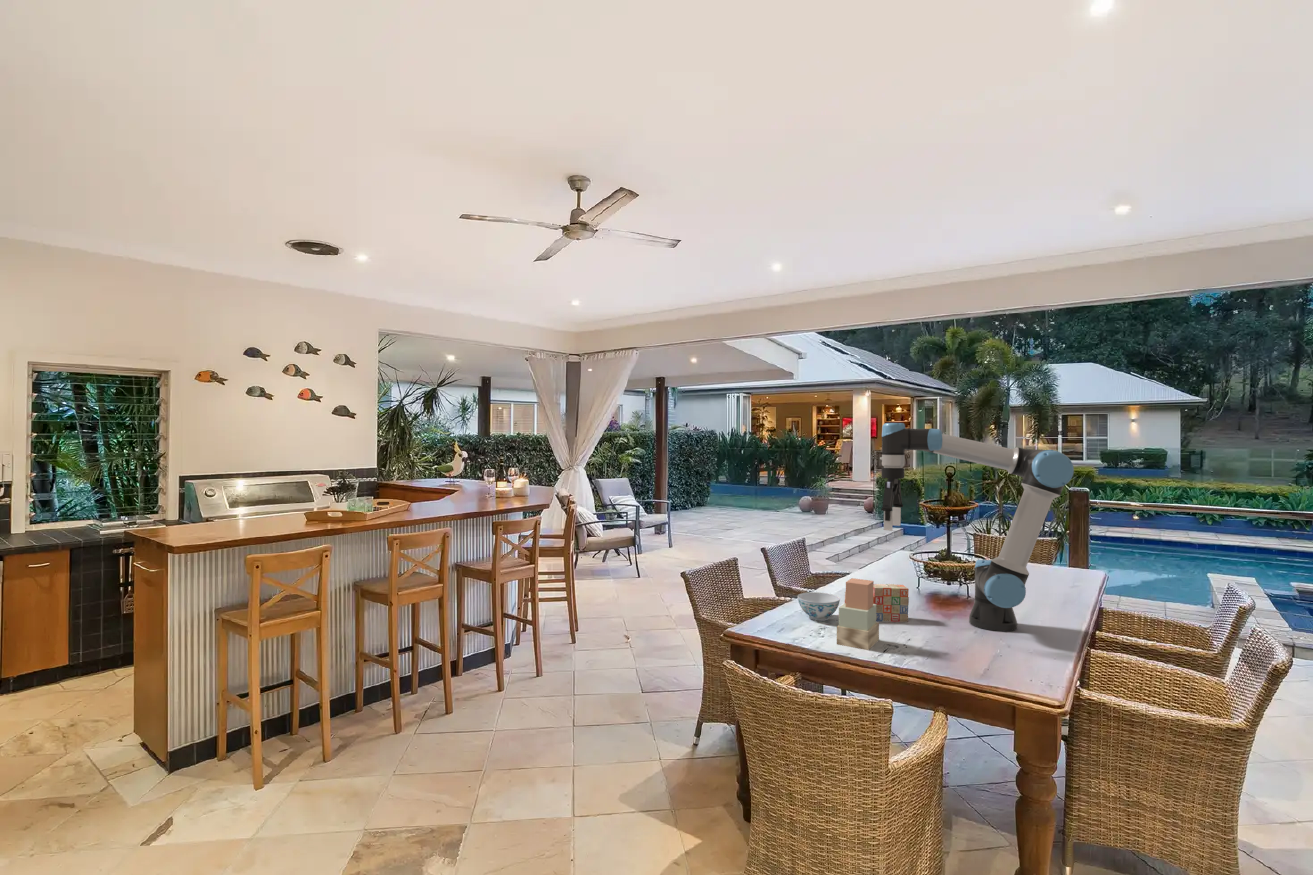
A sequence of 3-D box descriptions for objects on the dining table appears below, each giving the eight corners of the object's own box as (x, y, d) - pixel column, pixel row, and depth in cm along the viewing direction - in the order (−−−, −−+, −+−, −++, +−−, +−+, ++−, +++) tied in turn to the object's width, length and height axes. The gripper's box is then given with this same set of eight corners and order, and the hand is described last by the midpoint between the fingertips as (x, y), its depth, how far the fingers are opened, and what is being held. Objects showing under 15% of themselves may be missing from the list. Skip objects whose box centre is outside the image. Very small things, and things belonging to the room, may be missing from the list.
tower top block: (876, 622, 215) (876, 604, 215) (867, 630, 206) (867, 611, 206) (848, 618, 220) (848, 600, 220) (838, 626, 211) (838, 607, 211)
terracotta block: (873, 605, 214) (873, 580, 214) (867, 610, 208) (867, 585, 208) (851, 602, 217) (851, 578, 217) (845, 606, 212) (845, 582, 211)
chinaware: (823, 611, 250) (823, 590, 250) (848, 621, 236) (848, 600, 236) (789, 614, 245) (789, 594, 245) (813, 626, 231) (813, 604, 231)
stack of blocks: (848, 621, 237) (848, 587, 237) (844, 616, 244) (844, 583, 244) (908, 622, 237) (908, 588, 237) (902, 617, 243) (903, 584, 243)
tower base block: (878, 640, 215) (879, 622, 215) (868, 650, 205) (868, 631, 205) (848, 635, 221) (848, 617, 221) (836, 644, 211) (836, 626, 211)
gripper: (889, 465, 242) (889, 522, 242) (873, 468, 221) (872, 531, 221) (911, 465, 238) (910, 524, 238) (896, 469, 217) (896, 533, 217)
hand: (892, 527), depth 230 cm, fingers open, 13 cm apart
